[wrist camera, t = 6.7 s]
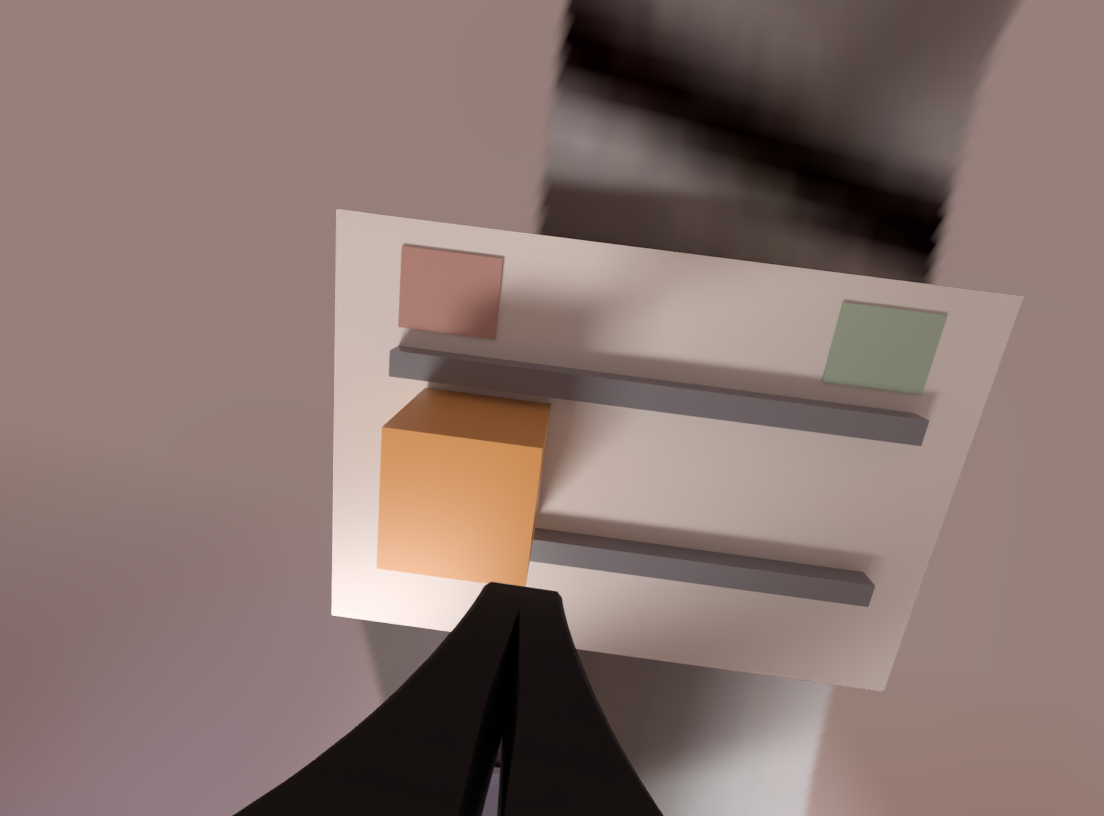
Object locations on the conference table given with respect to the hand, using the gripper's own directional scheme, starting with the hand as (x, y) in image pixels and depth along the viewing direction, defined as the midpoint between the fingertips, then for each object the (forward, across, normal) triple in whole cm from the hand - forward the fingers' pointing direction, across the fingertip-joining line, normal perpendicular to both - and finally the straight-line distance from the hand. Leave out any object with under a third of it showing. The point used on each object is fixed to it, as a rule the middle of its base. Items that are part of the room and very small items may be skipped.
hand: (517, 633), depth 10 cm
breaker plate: (+10, -3, 0) cm, 11 cm away
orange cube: (+8, +2, 0) cm, 9 cm away
